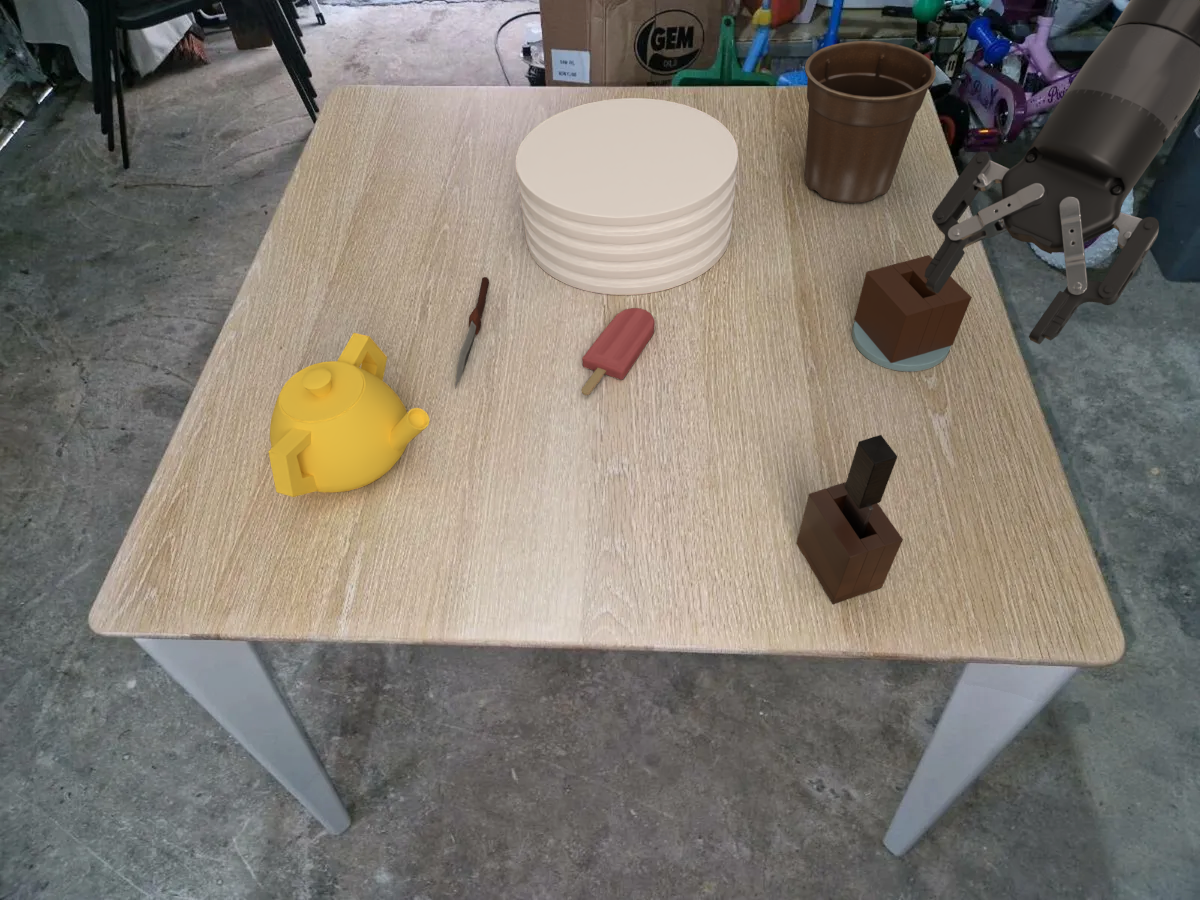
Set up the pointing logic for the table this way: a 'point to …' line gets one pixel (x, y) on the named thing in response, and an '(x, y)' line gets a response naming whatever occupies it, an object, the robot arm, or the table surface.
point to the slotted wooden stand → (907, 317)
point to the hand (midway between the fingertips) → (981, 314)
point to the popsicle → (618, 346)
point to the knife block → (845, 546)
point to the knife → (472, 329)
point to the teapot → (339, 424)
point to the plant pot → (861, 115)
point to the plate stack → (627, 194)
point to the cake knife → (867, 481)
